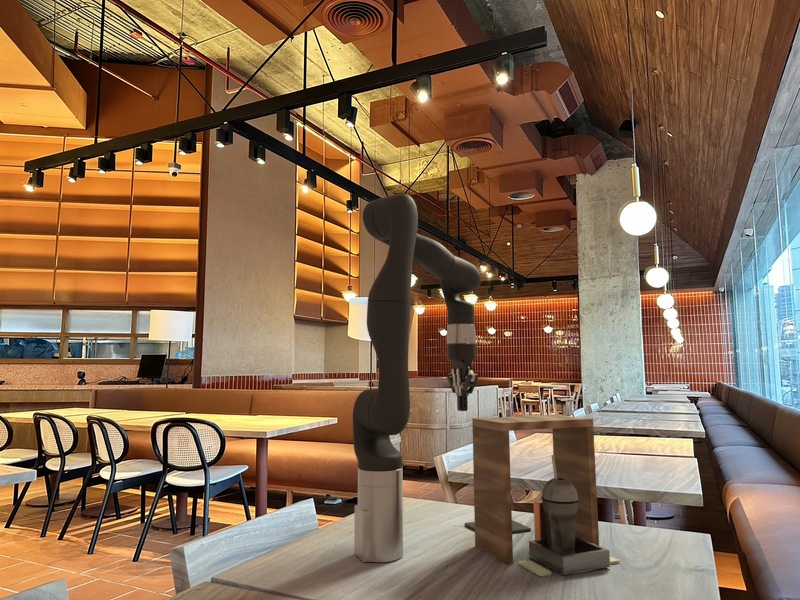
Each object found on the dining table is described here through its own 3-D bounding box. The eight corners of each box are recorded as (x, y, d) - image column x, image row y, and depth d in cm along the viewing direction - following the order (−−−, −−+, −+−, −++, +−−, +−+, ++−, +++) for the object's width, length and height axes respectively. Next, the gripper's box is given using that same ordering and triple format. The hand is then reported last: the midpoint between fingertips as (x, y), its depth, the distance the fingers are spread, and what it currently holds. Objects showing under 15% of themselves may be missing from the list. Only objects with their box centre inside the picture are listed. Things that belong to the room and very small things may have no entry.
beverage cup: (585, 566, 105) (582, 458, 107) (547, 566, 105) (544, 458, 107) (575, 553, 112) (572, 452, 114) (539, 552, 112) (536, 452, 114)
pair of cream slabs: (540, 576, 100) (540, 573, 100) (518, 564, 106) (518, 561, 106) (619, 562, 106) (619, 560, 106) (594, 552, 113) (594, 549, 113)
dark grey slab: (486, 537, 123) (486, 534, 124) (464, 525, 133) (464, 523, 133) (531, 531, 128) (531, 528, 128) (507, 520, 137) (507, 517, 137)
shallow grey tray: (563, 574, 100) (561, 517, 101) (523, 553, 111) (521, 502, 112) (610, 566, 103) (607, 511, 105) (566, 547, 115) (564, 497, 116)
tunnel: (506, 563, 106) (501, 423, 110) (475, 545, 117) (472, 418, 121) (599, 549, 115) (592, 418, 118) (562, 533, 126) (557, 414, 129)
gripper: (437, 343, 147) (437, 409, 145) (460, 340, 135) (461, 413, 133) (462, 344, 150) (463, 409, 148) (487, 341, 138) (488, 412, 135)
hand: (462, 410), depth 140 cm, fingers closed
